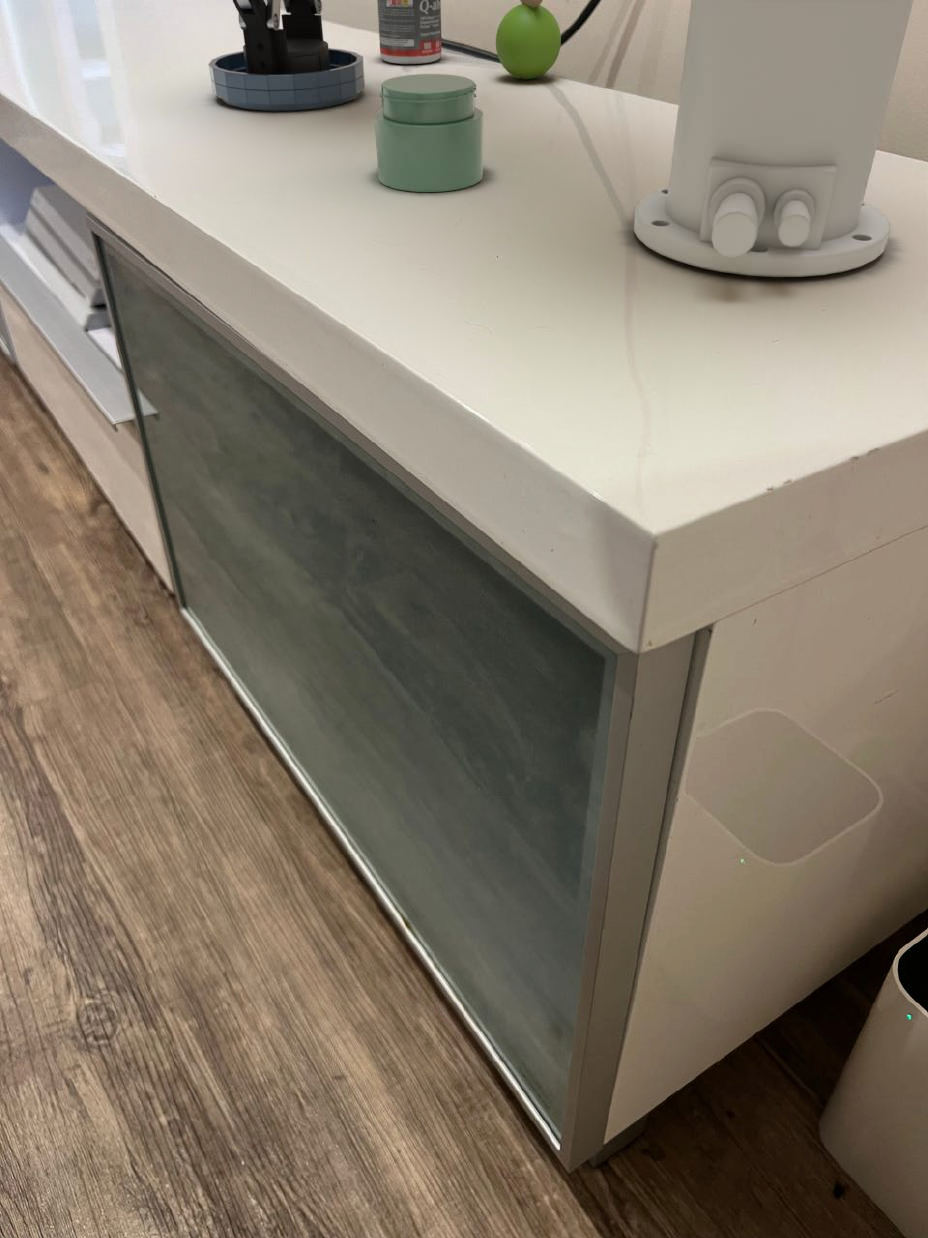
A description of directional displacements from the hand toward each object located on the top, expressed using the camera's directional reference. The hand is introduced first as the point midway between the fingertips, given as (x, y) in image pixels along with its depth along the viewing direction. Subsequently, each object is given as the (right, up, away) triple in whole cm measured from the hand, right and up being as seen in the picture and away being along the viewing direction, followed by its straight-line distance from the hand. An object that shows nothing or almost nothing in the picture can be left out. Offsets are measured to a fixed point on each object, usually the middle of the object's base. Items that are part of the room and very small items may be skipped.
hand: (289, 77), depth 75 cm
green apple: (+19, +3, +6) cm, 20 cm away
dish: (0, -1, +1) cm, 1 cm away
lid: (0, +2, -1) cm, 2 cm away
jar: (+12, -16, -17) cm, 26 cm away
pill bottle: (+9, +9, +13) cm, 18 cm away
